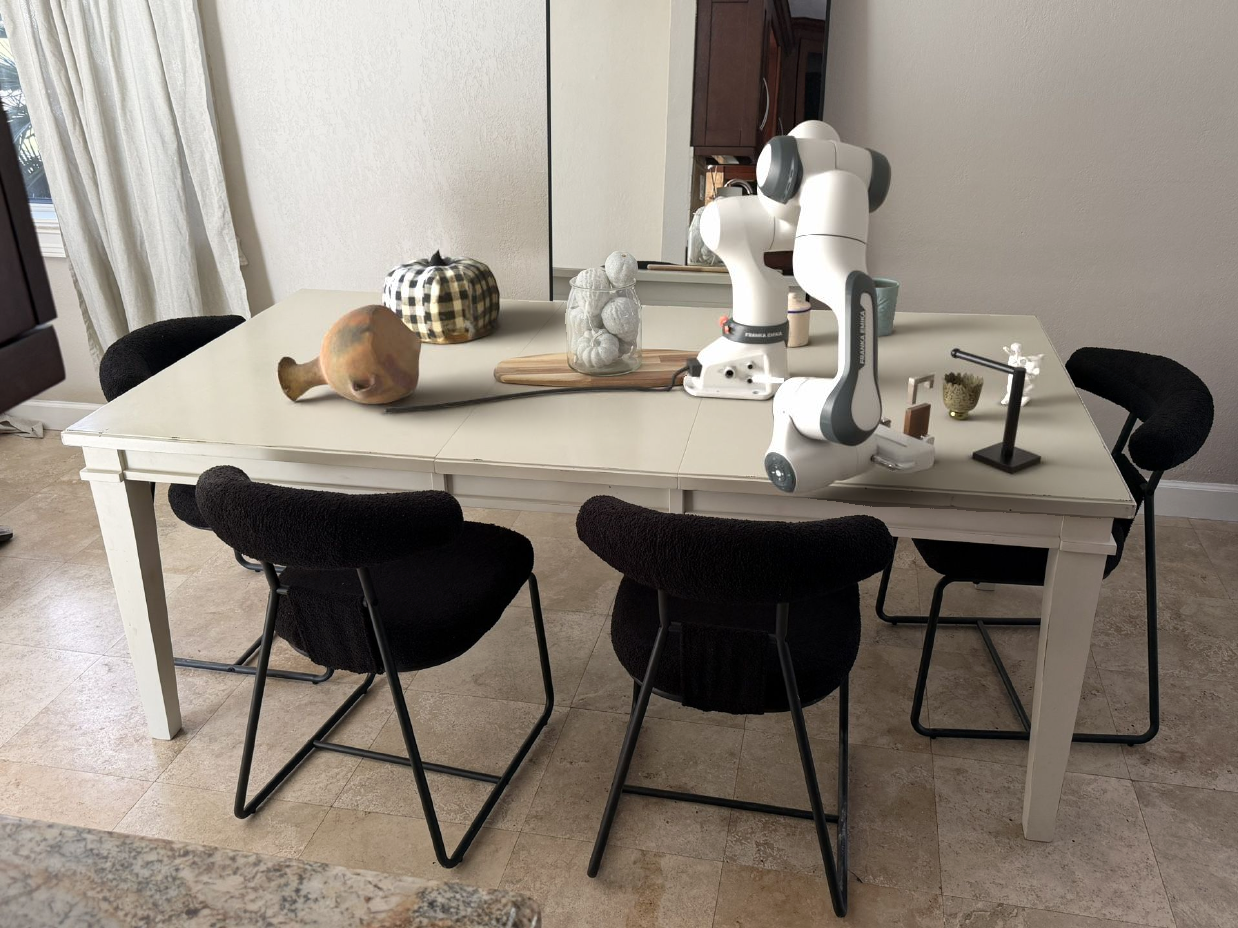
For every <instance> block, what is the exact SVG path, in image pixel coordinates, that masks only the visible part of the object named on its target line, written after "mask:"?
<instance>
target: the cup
mask: <svg viewBox="0 0 1238 928" xmlns="http://www.w3.org/2000/svg"><path fill="white" fill-rule="evenodd" d="M941 378H942V379H941V380H942V389H941V390H942V392H941V393H942V402H943V405H944V406H945V408H946V409H948V416H949V417H950V418H951V419H952V420H956V421H963V420H966V419H967V418H968V417H969V415H970V413H969V412H971V411H973V410H974V409H975V408H976V407H977V405H978V403H979V401H980V398H981V397H980V396H981V394H982V389H983V385H984V381H985V380H984V377H979V374H977V375H976V376H975V377H974V375H973V373H969V374H968V372H965V373H964V374H962V373H961V372H960V371H959V372H957V373H954V372H953V371H950V372H949V373H944V377H941Z"/></svg>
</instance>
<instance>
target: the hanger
mask: <svg viewBox="0 0 1238 928" xmlns="http://www.w3.org/2000/svg"><path fill="white" fill-rule="evenodd" d="M919 384H923V388H926V389H928V390H930V389H933V388H934V386H935V385H934V384H935V373H933V372H930V371H929V372H924V373H921V374H918V375H914V376H911V377H909V378H908V385H907V393H906V394H907V395H906V404H907V405H911V407H910V406H909V407H907V408H905V414H904V422H903V432H902V433H904V434H906V435H909V436H911V437H913V438H916V439H918V440H920V438H921V436H922V435H925V434H928V435H929V426H930V416H931V408H932V404H931V403H928V402H924V403H921V404H917V397H918V388H919ZM913 405H914V406H913Z"/></svg>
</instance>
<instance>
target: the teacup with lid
mask: <svg viewBox="0 0 1238 928" xmlns="http://www.w3.org/2000/svg"><path fill="white" fill-rule="evenodd" d="M811 310H812V305H811V303H810V302H808V301H807V300H803V299H802V298H801V297H798V295H797V293H795V292H789V297H788V315H787V318H788V320H789V325H790V328H789V342H788V346H787V348H799V347H802V346H806V345H807V344H808V343H809V337H810V336H809V335H810V321H811Z"/></svg>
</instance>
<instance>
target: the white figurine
mask: <svg viewBox="0 0 1238 928" xmlns="http://www.w3.org/2000/svg"><path fill="white" fill-rule="evenodd" d="M1003 350H1004V351H1005V353H1007V354H1008V355H1009V358H1008V365H1011V366H1014V367H1023V368H1026V369H1027V370H1026V377H1025V383H1024V389H1023V396H1022V402H1021V407H1024V406H1025V405H1026V404H1027V403H1028V402H1030V400H1031V398H1030V397H1029V396H1026V395H1028V394H1030V393H1032V392H1034V391H1035V390H1036V388H1037V383H1036V381H1037V377H1038V375H1041V373H1042V371H1041V369H1042V367H1043V363H1044V360H1045V357H1046V354H1045V353H1040V354H1038V355H1028V356H1023V345H1022V344H1021V343H1019V342H1014V343H1012V344H1011V346H1010V348H1009V347H1008V346H1003ZM1012 377H1013V375H1011V374H1008V379H1007V385H1006V391H1007V393H1006V395H1005V396H1004V398H1002V400H1001V402H1000V404H1002V405H1008V403H1009V397H1010V390H1011V384H1012Z"/></svg>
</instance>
